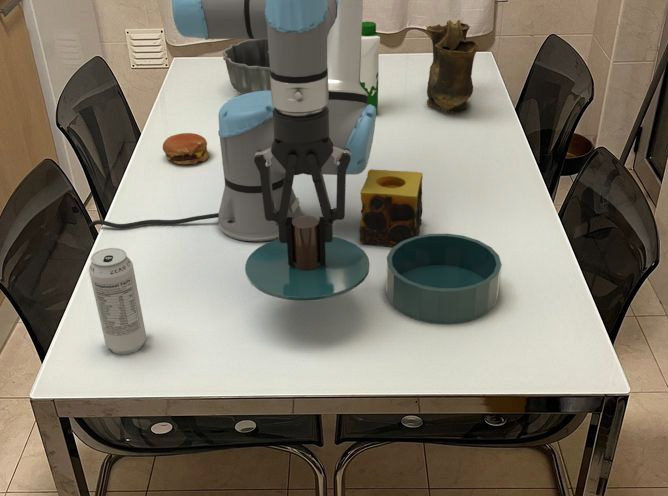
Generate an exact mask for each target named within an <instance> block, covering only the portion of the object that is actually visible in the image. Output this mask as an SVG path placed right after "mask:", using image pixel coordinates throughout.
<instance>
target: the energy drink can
mask: <svg viewBox="0 0 668 496" xmlns="http://www.w3.org/2000/svg"><path fill="white" fill-rule="evenodd" d="M90 261H91V262H90V264H89V268H88V273H89V277H90V282H91V286H92V291H93V295H94V299H95V304H96V309H97V313H98V318H99V321H100V326H101V330H102V331H101V332H102V335H103V339H104V344H105V346H106V347H107V348H108V349H110V351H112V352H113V353H115V354H118V355H128V354H132V353H135V352H137V351H139V350H140V349H142V347H143V345H144V344H145V341H146V340H147V332H146V327H145V321H144V316H143V310H142V306H141V302H140V301H141V300H140V296H139V290H138V284H137V280H136V274H135V269H134V264H133V263H134V262H133V261H132V260H131V259H130V258H129V257H128V256H127V252H126V251H125V250H124V249H121V248H118V247H108V248H102V249H100V250H98V251H96V252H94V253H93V254H92V255H91V257H90Z"/></svg>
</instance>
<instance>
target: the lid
mask: <svg viewBox="0 0 668 496" xmlns="http://www.w3.org/2000/svg"><path fill="white" fill-rule="evenodd" d="M292 238H293V256H294V265H288V250H287V243H281V242H280V240H279V238H278V239H274V240H270V241H268V242H266V243H264V244H262V245H261V246H259V247H258V248H256V249H255V250H254V251H252V252H251V253H250V255H249V256H248V258H247V259H246V260H245V261H246V262H245V264H244V273H245V276H246V279H247V281H248V282H249V283H250V284H251V286H253V287H254V288H255V289H256V290H258V291H259V292H261V293H263V294H265V295H268V296H270V297H273V298H277V299H282V300H287V301H296V302H297V301H300V302H303V301H304V302H306V301H308V302H309V301H321V300H327V299H331V298H334V297H338V296H341V295H344V294H346V293H348V292H350V291H353V290H354V289H355V288H357V287H358V286H360V285H361V284H362V283H363V282H364V281H365V280H366V278H367V277H368V276H369V272H370V267H371V266H370V265H371V264H370V259H369V257H368V254H367V253H366V251H364V250H363V249H362V248H361V247H360V246H358V245H357V244H356V243H353V242H352V241H350V240H347V239H345V238H342V237H337V236H333V240H332V242H325V251H326V260H325V265H320V241H319V218H318V217H316V216H313V215H301V216H299V217H296V218H295V219H293V220H292Z"/></svg>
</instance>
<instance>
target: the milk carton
mask: <svg viewBox="0 0 668 496" xmlns="http://www.w3.org/2000/svg"><path fill="white" fill-rule="evenodd" d="M380 46H381V37H380V36H379V34H378V33H377V23H376V22H374V21H362V38H361V64H360V85H361V87H362V88H363V89H364V90H365V91H366V93H367V94H368V105H369V104H371V105H372V106H374V107H375V108H376V116H378V113H379V110H378V109H379V70H380V69H379V67H380V66H379V64H380V63H379V60H380V59H379V58H380Z"/></svg>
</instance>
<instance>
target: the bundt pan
mask: <svg viewBox="0 0 668 496" xmlns="http://www.w3.org/2000/svg"><path fill="white" fill-rule="evenodd" d="M222 56H223V57H222V59H223V61H225V66H226V70H227V74H228V78H229V82H230V84H231V87H232V88H233V89H234V90H235V91H237V92H238V93H240V94H241V95H243V94H247V93H251V92H256V91H271V81H270V61H269V47H268V39H244V40H241V41H239V42H237V43H233V44H230V45H229V47H227V48H225V49H224V50H223V51H222Z"/></svg>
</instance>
